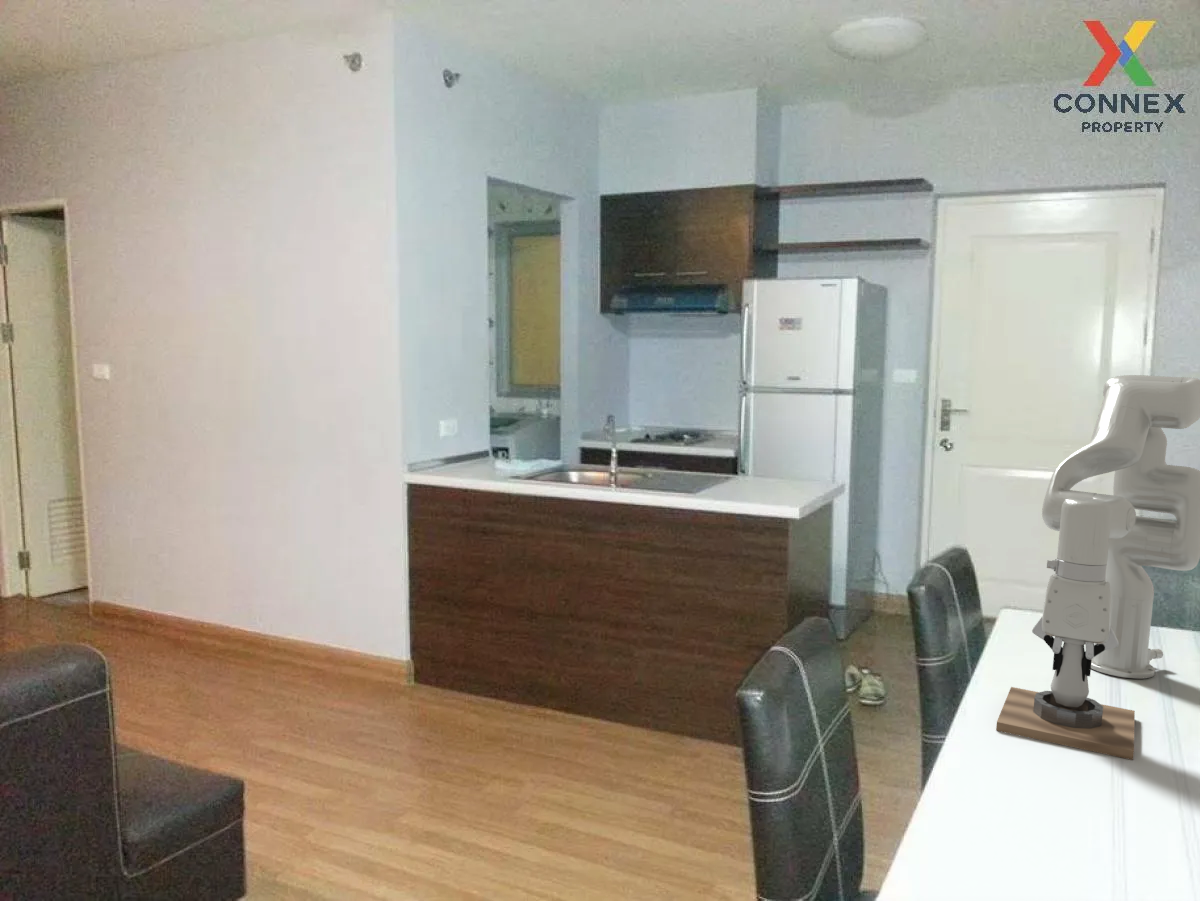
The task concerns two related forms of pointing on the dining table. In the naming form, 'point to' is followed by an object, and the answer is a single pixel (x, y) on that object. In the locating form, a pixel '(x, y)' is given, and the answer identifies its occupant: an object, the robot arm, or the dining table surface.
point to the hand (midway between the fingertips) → (1070, 676)
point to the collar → (1068, 712)
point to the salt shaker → (1070, 676)
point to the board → (1104, 739)
